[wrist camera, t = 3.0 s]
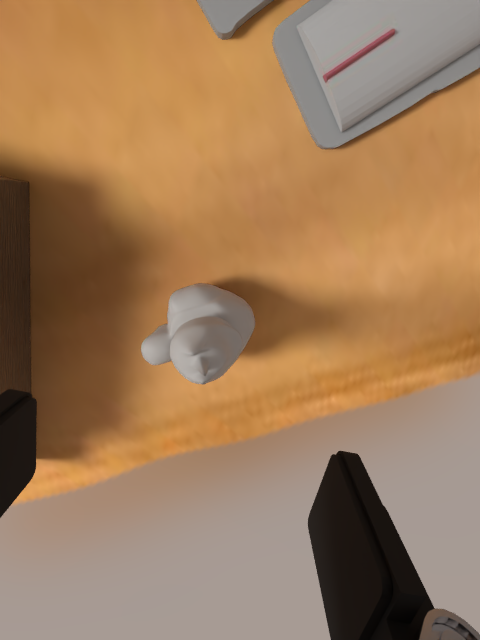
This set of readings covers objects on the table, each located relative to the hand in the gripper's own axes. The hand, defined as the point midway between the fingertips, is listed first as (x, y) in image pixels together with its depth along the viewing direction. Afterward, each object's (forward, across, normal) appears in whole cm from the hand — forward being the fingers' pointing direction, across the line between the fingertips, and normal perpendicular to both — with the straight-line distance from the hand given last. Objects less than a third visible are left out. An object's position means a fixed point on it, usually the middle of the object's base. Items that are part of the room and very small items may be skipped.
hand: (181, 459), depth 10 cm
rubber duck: (+12, +1, -1) cm, 12 cm away
